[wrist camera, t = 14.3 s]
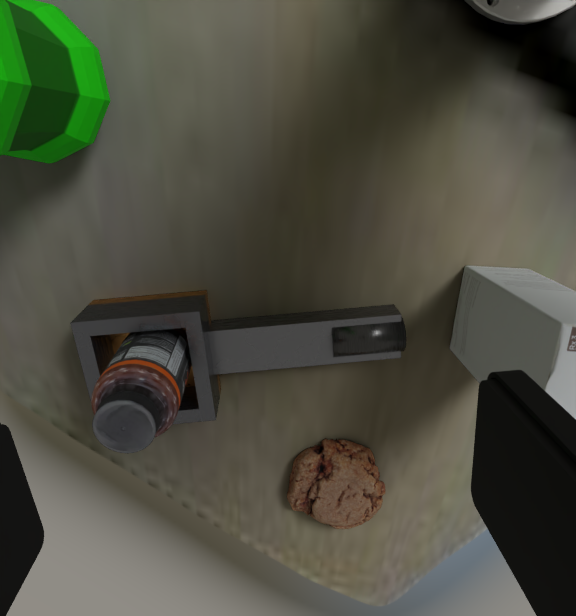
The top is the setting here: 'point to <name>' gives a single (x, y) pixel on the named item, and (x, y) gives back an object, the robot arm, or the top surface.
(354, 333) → the grey long handled piece
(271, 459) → the top surface
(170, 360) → the supplement bottle
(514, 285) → the skincare box
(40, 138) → the plastic bottle
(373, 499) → the cookie
